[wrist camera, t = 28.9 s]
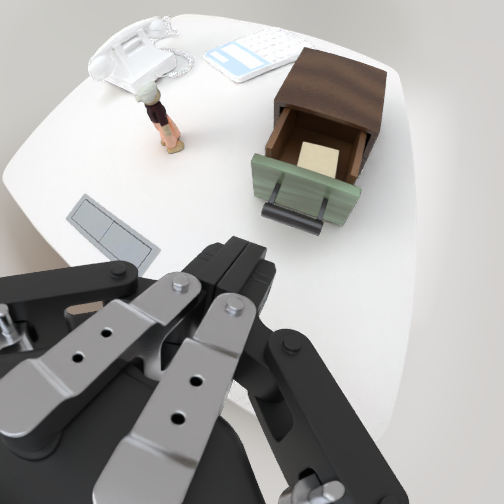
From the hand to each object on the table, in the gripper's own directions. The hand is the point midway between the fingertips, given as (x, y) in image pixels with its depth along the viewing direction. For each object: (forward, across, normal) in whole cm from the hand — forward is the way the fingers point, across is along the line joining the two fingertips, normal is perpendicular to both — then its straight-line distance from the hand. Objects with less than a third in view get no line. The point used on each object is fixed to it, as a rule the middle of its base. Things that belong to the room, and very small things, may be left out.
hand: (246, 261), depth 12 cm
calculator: (+48, -18, +17) cm, 54 cm away
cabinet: (+36, 0, +6) cm, 37 cm away
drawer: (+28, 0, -2) cm, 28 cm away
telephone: (+42, -39, +11) cm, 59 cm away
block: (+27, +1, -2) cm, 27 cm away
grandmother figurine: (+29, -22, -2) cm, 36 cm away
